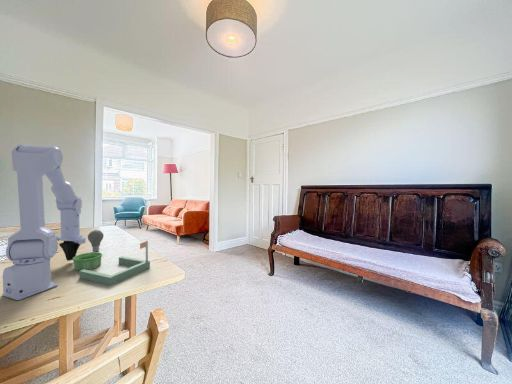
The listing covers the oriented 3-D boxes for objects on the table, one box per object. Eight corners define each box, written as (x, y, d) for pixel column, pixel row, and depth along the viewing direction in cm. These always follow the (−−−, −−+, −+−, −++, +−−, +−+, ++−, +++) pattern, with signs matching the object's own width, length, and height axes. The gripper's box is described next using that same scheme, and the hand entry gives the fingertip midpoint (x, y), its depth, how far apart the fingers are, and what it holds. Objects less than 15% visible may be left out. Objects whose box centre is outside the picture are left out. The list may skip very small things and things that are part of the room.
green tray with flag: (110, 285, 70) (109, 252, 69) (79, 278, 74) (78, 247, 74) (149, 267, 85) (149, 240, 84) (122, 262, 89) (121, 236, 89)
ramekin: (74, 265, 86) (74, 254, 86) (102, 261, 91) (102, 250, 91) (71, 273, 78) (70, 261, 78) (101, 268, 83) (101, 257, 83)
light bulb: (95, 253, 99) (95, 231, 99) (84, 252, 101) (84, 231, 100) (106, 249, 105) (106, 229, 105) (96, 248, 106) (96, 228, 106)
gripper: (93, 225, 89) (93, 258, 89) (69, 222, 93) (70, 254, 94) (73, 229, 82) (74, 264, 82) (49, 225, 87) (50, 259, 87)
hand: (70, 259), depth 88 cm, fingers closed
